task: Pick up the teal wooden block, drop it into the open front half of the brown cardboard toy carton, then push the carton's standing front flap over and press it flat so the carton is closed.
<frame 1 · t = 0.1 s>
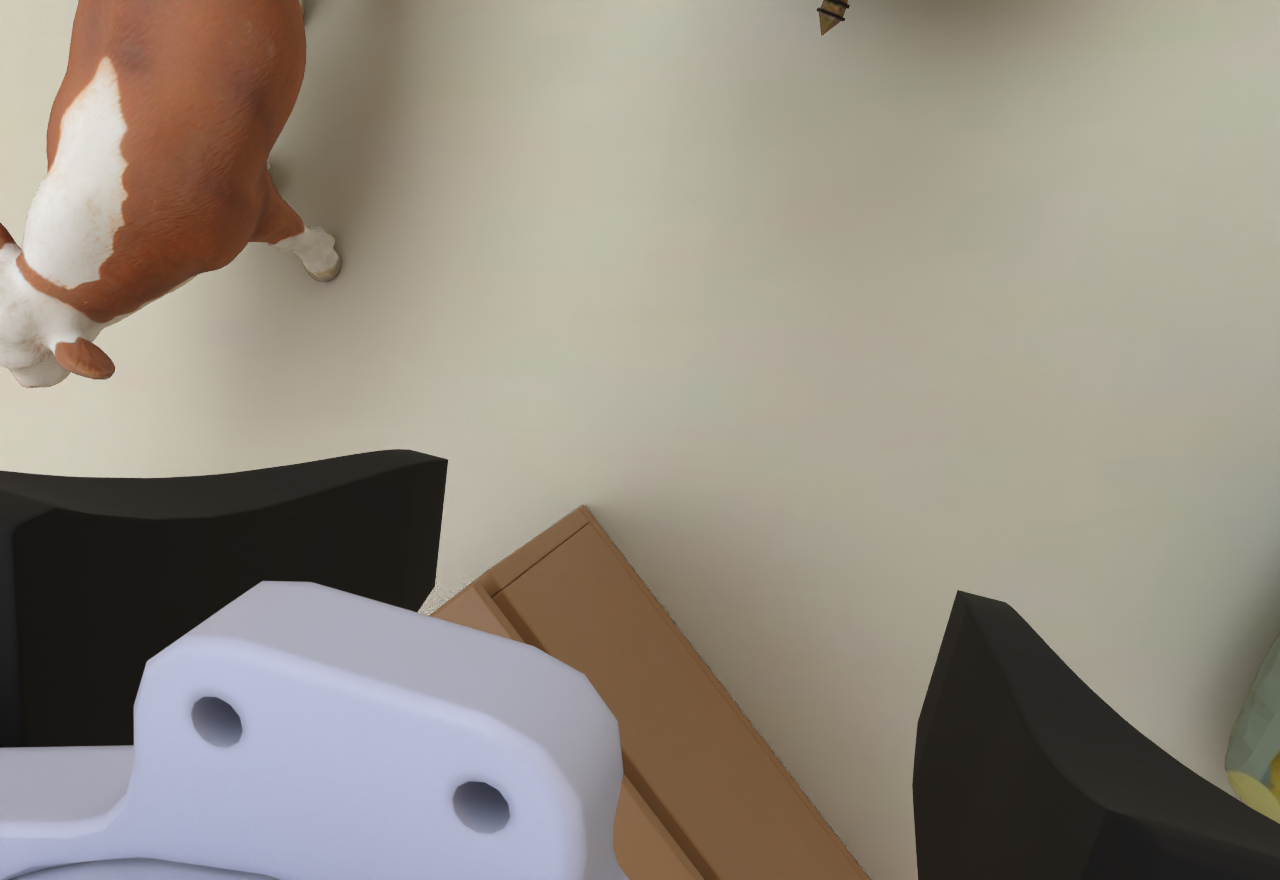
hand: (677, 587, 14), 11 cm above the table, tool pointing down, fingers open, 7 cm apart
bull figurine: (309, 137, 26), on the table
carton: (535, 852, 27), on the table
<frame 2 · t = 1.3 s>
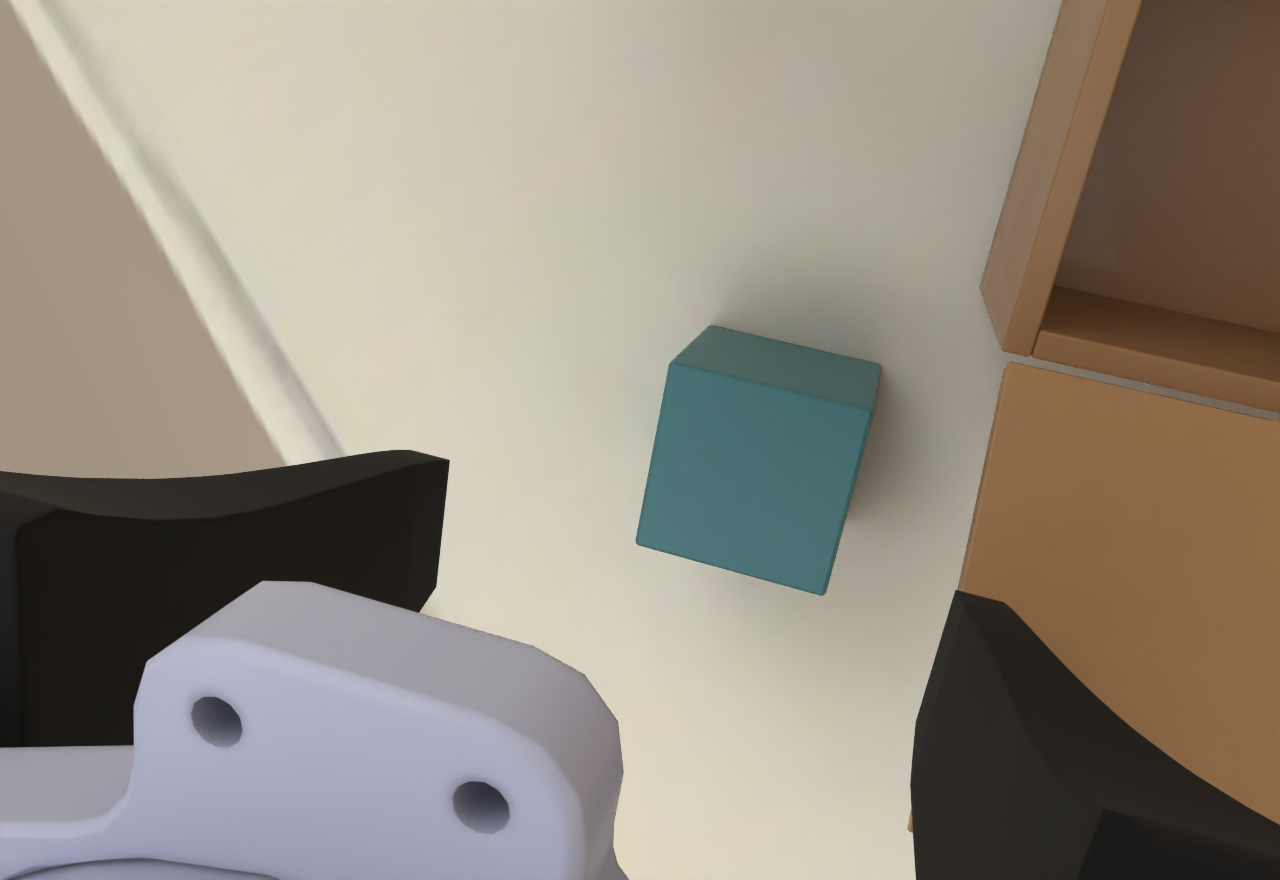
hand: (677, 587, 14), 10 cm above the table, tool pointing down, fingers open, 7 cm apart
block: (774, 425, 24), on the table
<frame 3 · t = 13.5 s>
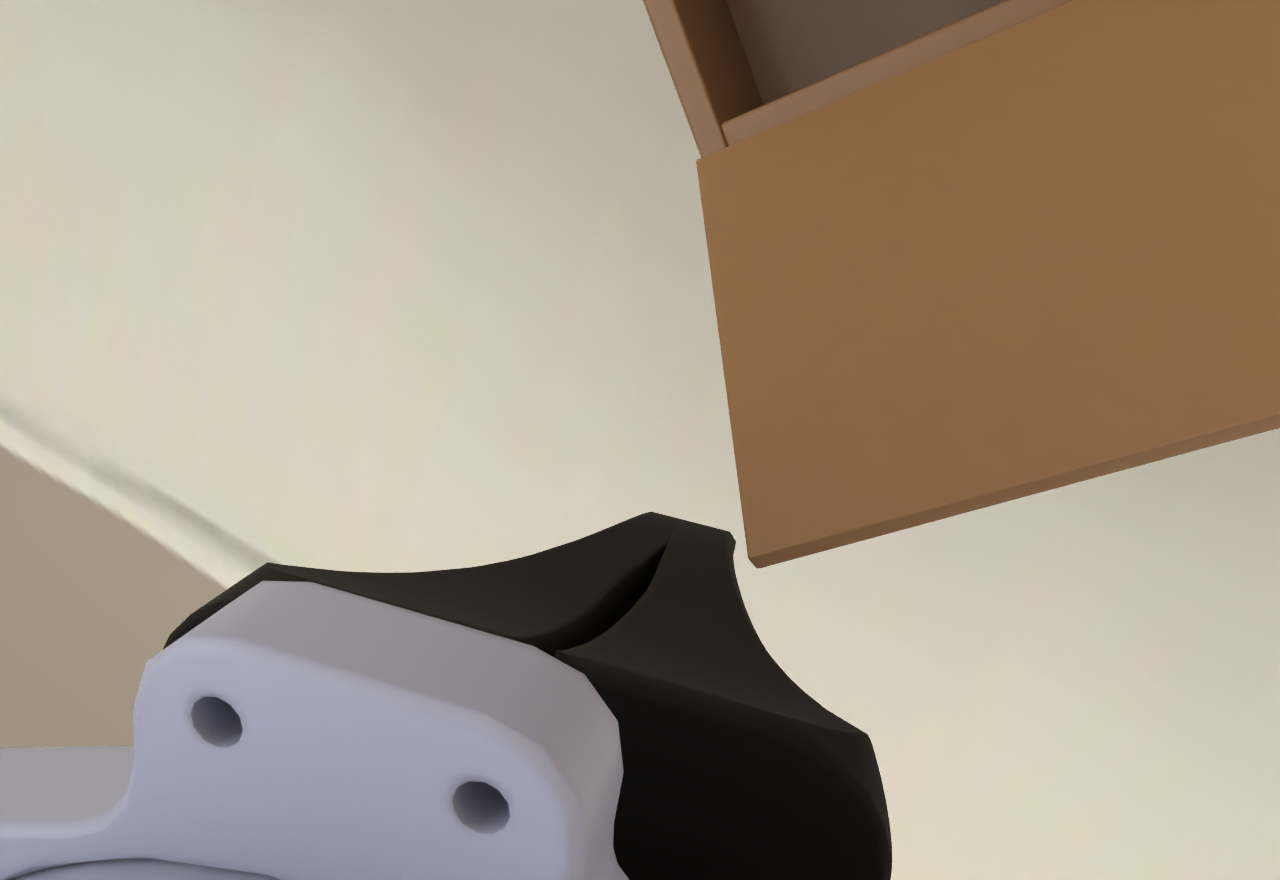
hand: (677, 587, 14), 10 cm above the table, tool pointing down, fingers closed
flap: (1252, 147, 11), point 10 cm above the table, hinge at 131.2°, touching gripper
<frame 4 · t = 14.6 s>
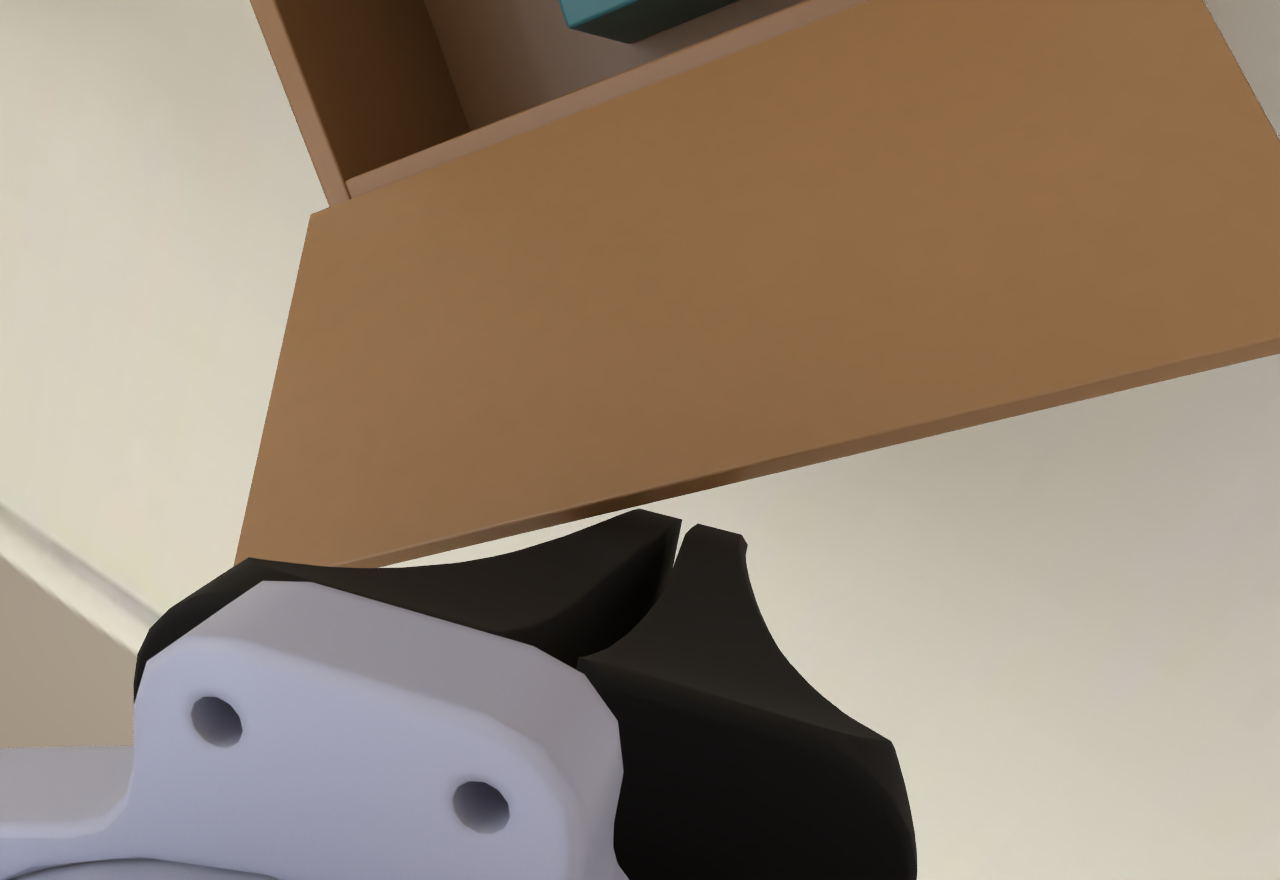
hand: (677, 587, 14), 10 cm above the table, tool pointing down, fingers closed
flap: (683, 255, 13), point 10 cm above the table, hinge at 131.8°, touching gripper
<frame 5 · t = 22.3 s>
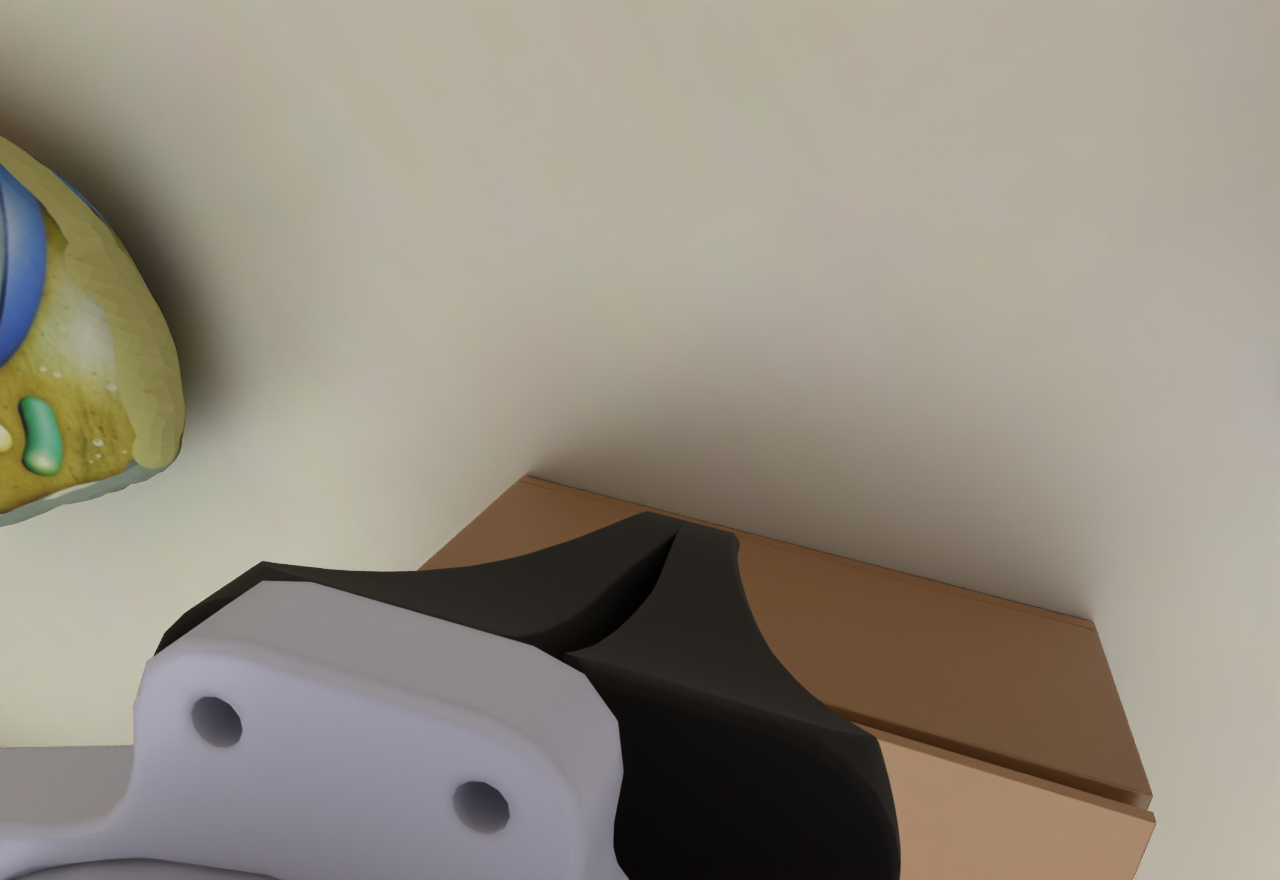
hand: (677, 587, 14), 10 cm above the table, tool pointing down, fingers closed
carton: (741, 764, 27), on the table
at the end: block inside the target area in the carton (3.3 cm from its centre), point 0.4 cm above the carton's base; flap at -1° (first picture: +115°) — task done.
